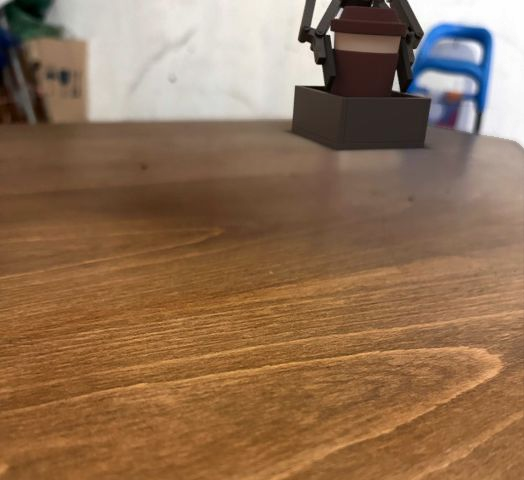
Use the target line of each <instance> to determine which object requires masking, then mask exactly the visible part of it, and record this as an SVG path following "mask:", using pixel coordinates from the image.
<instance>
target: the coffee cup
mask: <svg viewBox="0 0 524 480" xmlns="http://www.w3.org/2000/svg"><path fill="white" fill-rule="evenodd" d="M329 30H330V32H333V47H332V50H333V57H334V64H335V71H336V78H335V80H334V83H333V85H332V88H331V94H334V95H338V96H342V97H377V98H390V97H391V92H392V90H393V87H394V82H395V77H396V74H397V71H396V68H397V63H398V58H399V53H398V49H399V44H400V39H401V36H405V35H406V30H407V24H406V23H400V22H399V18H398V14H397V10H396V9H391V8H374V7H359V6H345V7H344V9H342V11H341V13H340V15H339V18H335V19H331V26H330V28H329Z"/></svg>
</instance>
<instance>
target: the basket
mask: <svg viewBox="0 0 524 480" xmlns="http://www.w3.org/2000/svg"><path fill="white" fill-rule="evenodd" d="M293 91H294V92H293V93H294V94H293V106H292V121H291V133H293V134H294V135H298V136H299V137H302V138H305V139H307V140H311V141H312V142H315V143H318V144H319V145H323V146H325V147H328V148H330V149H333V150H335V151H362V150H397V149H400V150H402V149H424V148H425V142H426V136H427V130H428V124H429V116H430V112H431V105H432V98H430V97H425V96H421V95H417V94H412V93H408V92H406V93H400V90H394V89H392V92H391V97H390V98H377V97H342V96H338V95H334V94H331V90H325V85H305V84H304V85H302V84H299V85H294V90H293Z"/></svg>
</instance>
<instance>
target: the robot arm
mask: <svg viewBox="0 0 524 480" xmlns="http://www.w3.org/2000/svg"><path fill="white" fill-rule="evenodd" d="M316 3H317V0H305V3H304V8H303V11H302V17H301V22H300V26H299V30H298V35H297V41H298V43H300V44H306V43H308V44H310V45H309V49H310V51H311V52H313V59H314V60H313V61H314V63H315V64H316V66H321V71H322V77H323V84H324V85H323V86H325V90H331V88H332V85H333V83H334V80H335V78H336V71H335V64H334V57H333V50H332V49H333V44H332V36H331V34H328V33H329V32H328V31H329V30H330V26H331V19H336V17H337V16H338V14H339V13H340V11H341V9H342V10H343V9H344V7H345V6H359V7H374V8H390V9H396V10H397V14H398V18H399V22H400V23H406V24H407V30H406V35H405V36H401V39H400V44H399V49H398V53H399V58H398V63H397V68H396V76H397V81H398V87H399V92H400V93H408V90H409V88H410V86H411V85H412V83H413V81H414V76H413V71H412V67H413V65H414V63H415V60H416V58H415V53H414V50H417V49H418V47H419V46H420V44H421V42H422V39H423V37H424V36H425V32H424V30H423V28H422V26H421V24H420V22H419V20H418V19H417V16H416V14H415V12H414V11H413V8H412V5H410V3H409V0H331V1H330V2H329V4H328V6H327V8H326V10H325V12H324V14H323V15H322V17H321V19H320V21H319V22H318V24H317V26H316V28H314V27H312V22H313V17H314V12H315V8H316ZM388 4H389V5H388Z"/></svg>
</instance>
